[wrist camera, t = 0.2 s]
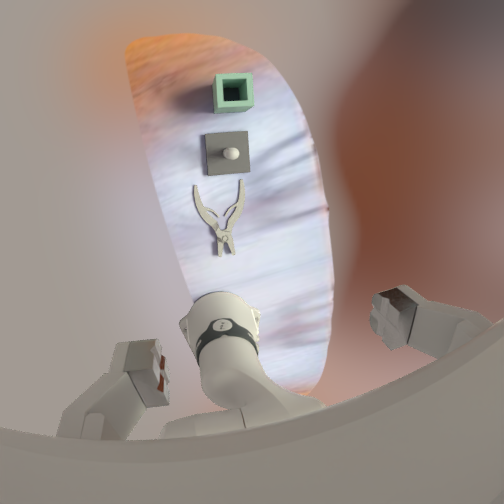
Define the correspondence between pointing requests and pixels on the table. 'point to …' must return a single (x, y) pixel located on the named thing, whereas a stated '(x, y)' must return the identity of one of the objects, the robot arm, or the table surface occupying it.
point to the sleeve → (233, 81)
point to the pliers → (222, 234)
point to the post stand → (227, 153)
